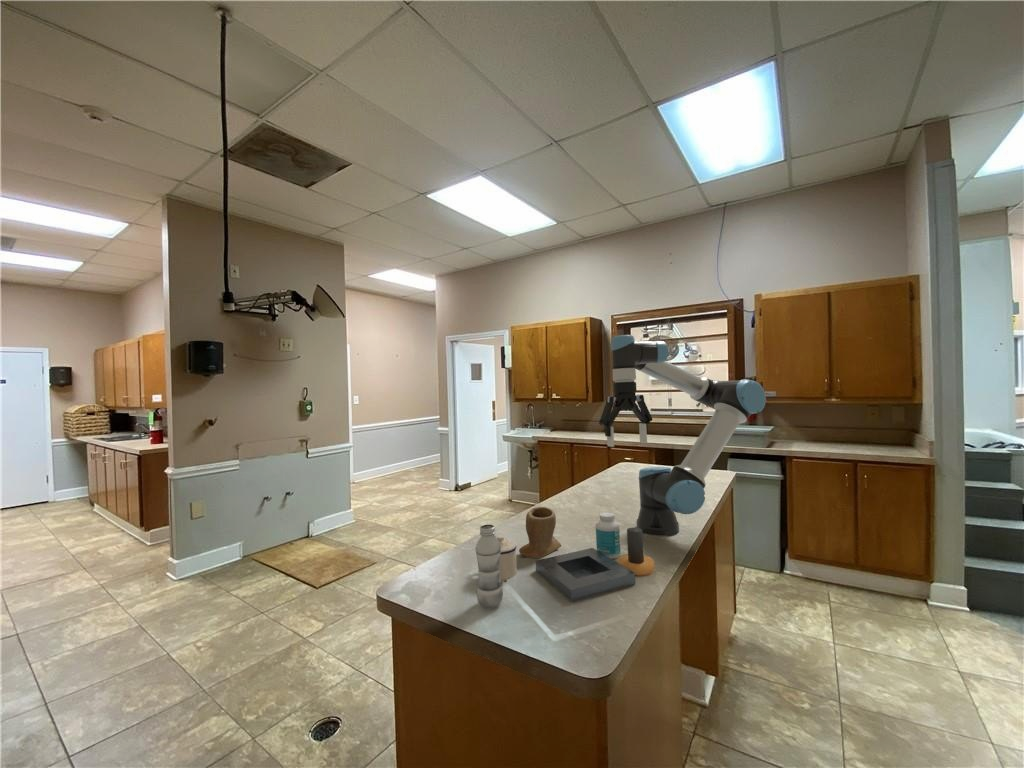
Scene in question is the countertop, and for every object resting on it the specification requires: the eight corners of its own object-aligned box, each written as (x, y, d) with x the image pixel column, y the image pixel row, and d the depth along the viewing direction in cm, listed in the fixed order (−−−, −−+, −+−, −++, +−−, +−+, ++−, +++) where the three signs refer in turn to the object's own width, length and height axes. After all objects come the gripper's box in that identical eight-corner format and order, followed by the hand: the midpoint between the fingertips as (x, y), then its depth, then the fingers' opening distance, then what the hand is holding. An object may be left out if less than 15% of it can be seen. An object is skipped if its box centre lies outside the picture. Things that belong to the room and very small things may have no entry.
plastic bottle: (477, 599, 108) (473, 523, 108) (502, 597, 108) (499, 521, 109) (477, 613, 101) (473, 531, 102) (504, 610, 102) (500, 530, 102)
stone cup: (541, 565, 127) (539, 517, 127) (514, 555, 136) (512, 510, 136) (571, 550, 138) (569, 505, 138) (544, 542, 146) (542, 500, 146)
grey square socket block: (593, 560, 129) (592, 547, 129) (635, 587, 111) (634, 572, 111) (536, 574, 121) (535, 560, 121) (571, 606, 103) (570, 589, 103)
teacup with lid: (523, 573, 122) (522, 534, 122) (504, 586, 115) (502, 544, 115) (492, 564, 129) (491, 527, 129) (473, 576, 122) (471, 536, 122)
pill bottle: (621, 562, 127) (619, 518, 127) (597, 561, 128) (595, 518, 129) (620, 552, 134) (618, 511, 134) (597, 551, 136) (595, 510, 136)
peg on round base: (638, 561, 127) (636, 522, 128) (662, 574, 118) (660, 532, 118) (611, 567, 123) (609, 527, 124) (634, 581, 114) (632, 538, 114)
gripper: (646, 380, 147) (648, 440, 146) (586, 383, 137) (589, 446, 137) (661, 379, 140) (664, 442, 139) (600, 382, 130) (603, 449, 130)
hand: (627, 444), depth 138 cm, fingers open, 13 cm apart
